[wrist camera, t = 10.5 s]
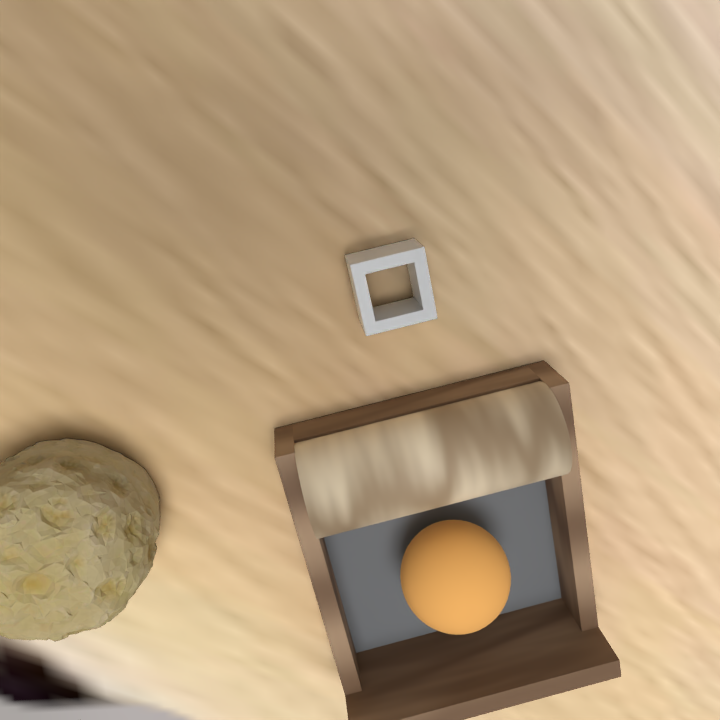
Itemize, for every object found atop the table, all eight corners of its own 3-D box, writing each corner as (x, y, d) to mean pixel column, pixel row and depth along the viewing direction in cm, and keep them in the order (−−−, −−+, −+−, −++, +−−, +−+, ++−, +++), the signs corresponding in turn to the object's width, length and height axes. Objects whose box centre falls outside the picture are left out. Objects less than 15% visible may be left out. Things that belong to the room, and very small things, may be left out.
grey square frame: (344, 255, 35) (349, 264, 32) (413, 238, 35) (424, 247, 32) (360, 321, 36) (365, 336, 34) (426, 305, 36) (437, 318, 34)
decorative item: (176, 454, 41) (147, 416, 32) (166, 630, 38) (130, 646, 29) (9, 455, 40) (-73, 416, 31) (-15, 636, 37) (-114, 654, 28)
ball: (419, 654, 34) (414, 640, 40) (536, 623, 34) (514, 613, 40) (388, 532, 36) (387, 536, 41) (500, 504, 36) (483, 511, 42)
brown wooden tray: (274, 428, 37) (275, 483, 32) (544, 360, 38) (591, 402, 32) (344, 667, 43) (355, 749, 38) (576, 604, 44) (621, 676, 38)
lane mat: (274, 428, 37) (274, 432, 37) (544, 360, 38) (547, 363, 38) (344, 667, 43) (344, 672, 43) (576, 604, 44) (579, 609, 43)
